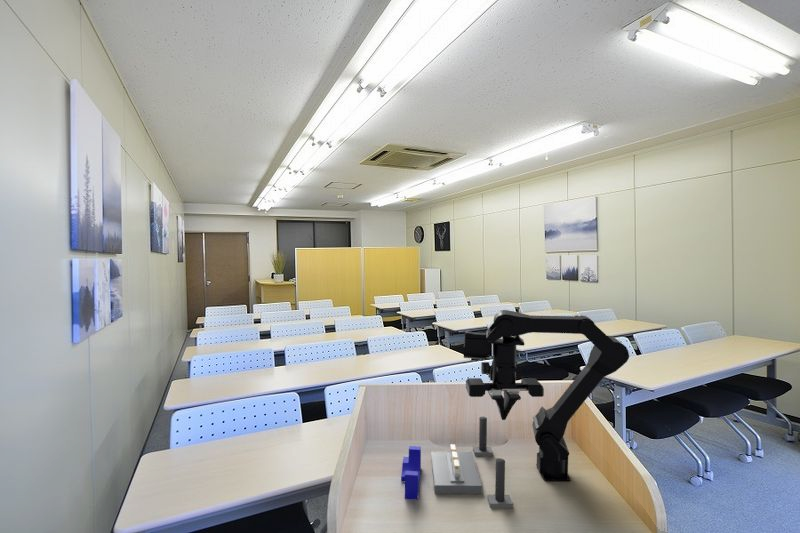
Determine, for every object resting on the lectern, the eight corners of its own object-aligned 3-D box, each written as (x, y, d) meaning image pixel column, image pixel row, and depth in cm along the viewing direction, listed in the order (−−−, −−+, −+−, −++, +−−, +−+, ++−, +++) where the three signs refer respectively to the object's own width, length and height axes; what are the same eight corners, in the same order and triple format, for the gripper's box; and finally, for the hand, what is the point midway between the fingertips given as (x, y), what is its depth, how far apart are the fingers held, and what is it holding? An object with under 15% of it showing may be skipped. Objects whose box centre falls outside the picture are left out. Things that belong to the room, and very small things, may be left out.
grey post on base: (490, 449, 107) (491, 415, 106) (492, 456, 104) (493, 420, 103) (472, 449, 107) (473, 415, 106) (474, 455, 104) (475, 420, 103)
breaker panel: (471, 458, 103) (472, 450, 103) (481, 493, 89) (481, 484, 89) (431, 458, 103) (431, 450, 103) (434, 493, 89) (434, 484, 89)
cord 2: (509, 498, 87) (509, 457, 86) (512, 508, 84) (513, 465, 83) (487, 498, 87) (487, 456, 86) (490, 507, 84) (490, 464, 83)
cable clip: (403, 467, 100) (403, 445, 99) (420, 468, 99) (420, 446, 99) (398, 498, 88) (398, 474, 87) (417, 500, 87) (417, 475, 87)
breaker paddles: (454, 454, 101) (454, 443, 100) (459, 478, 91) (459, 466, 90) (450, 454, 101) (450, 443, 100) (454, 478, 91) (454, 466, 90)
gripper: (530, 350, 105) (528, 405, 106) (462, 350, 105) (461, 405, 106) (545, 364, 94) (543, 425, 95) (470, 364, 94) (469, 425, 95)
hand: (503, 419), depth 98 cm, fingers closed
